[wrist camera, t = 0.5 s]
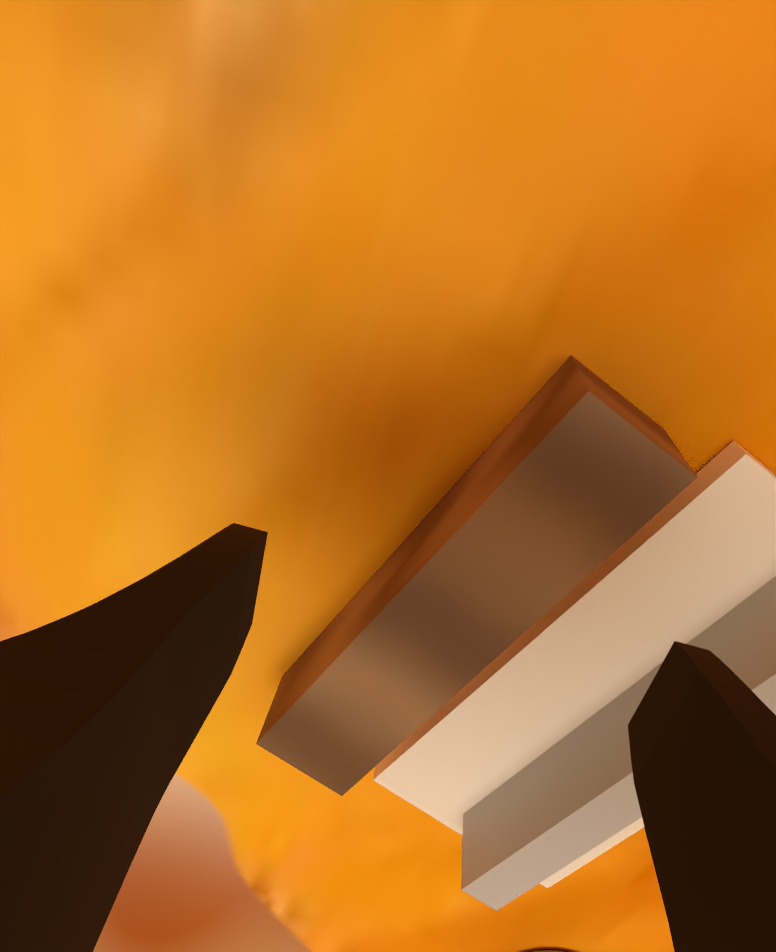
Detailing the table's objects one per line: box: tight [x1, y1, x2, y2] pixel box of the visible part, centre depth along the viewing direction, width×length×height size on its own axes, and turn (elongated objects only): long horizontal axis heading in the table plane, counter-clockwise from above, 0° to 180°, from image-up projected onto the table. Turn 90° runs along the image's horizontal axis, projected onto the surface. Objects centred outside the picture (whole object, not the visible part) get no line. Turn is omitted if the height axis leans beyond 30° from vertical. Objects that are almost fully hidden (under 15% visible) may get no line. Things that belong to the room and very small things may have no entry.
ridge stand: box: [373, 440, 776, 911], centre depth 22 cm, size 9×18×4 cm, turn 144°
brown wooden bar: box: [256, 356, 697, 796], centre depth 21 cm, size 16×4×4 cm, turn 144°
